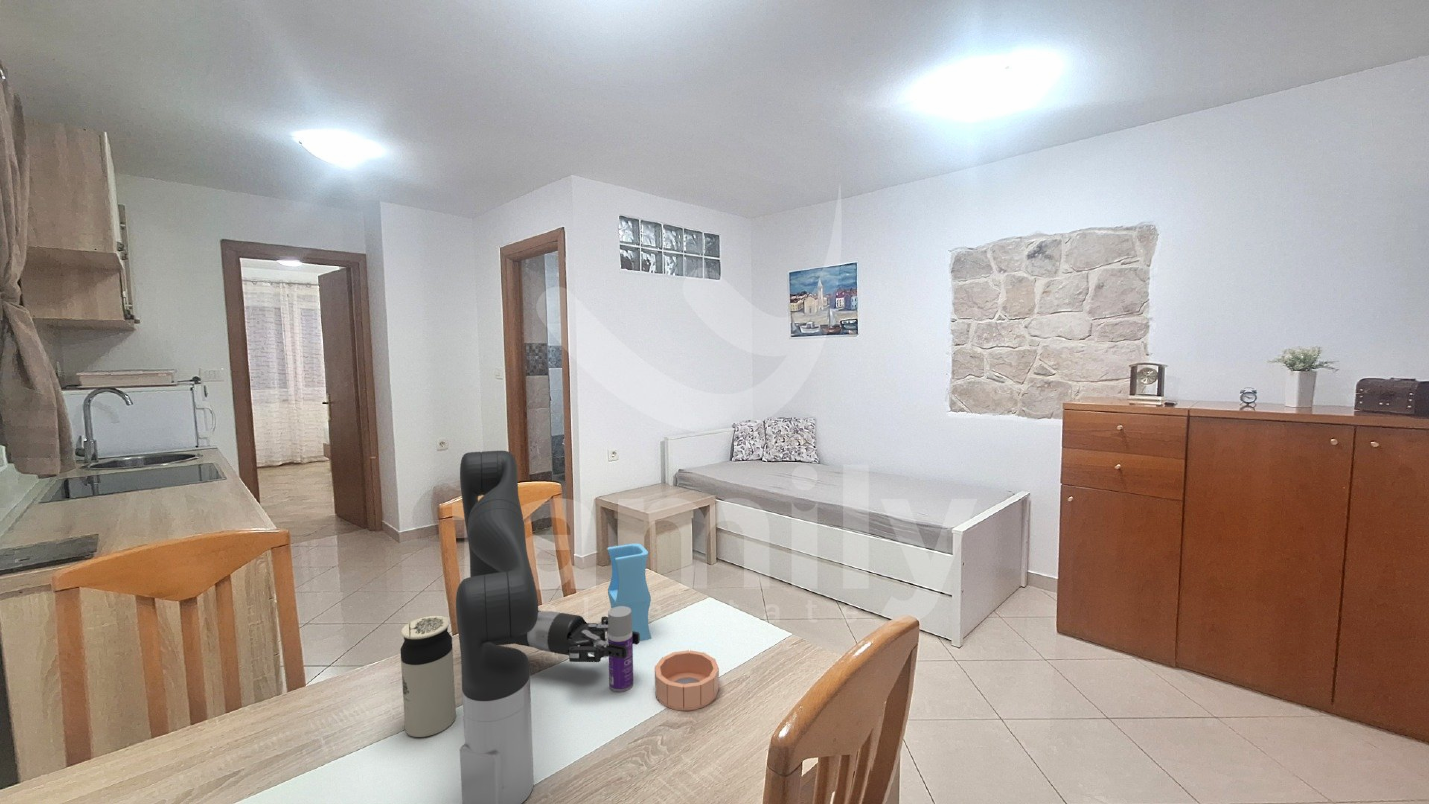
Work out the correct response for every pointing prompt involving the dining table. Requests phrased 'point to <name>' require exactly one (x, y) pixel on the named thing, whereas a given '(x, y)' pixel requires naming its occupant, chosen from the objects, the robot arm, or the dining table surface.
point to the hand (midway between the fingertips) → (632, 645)
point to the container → (623, 636)
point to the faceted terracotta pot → (686, 680)
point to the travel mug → (427, 676)
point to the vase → (630, 584)
